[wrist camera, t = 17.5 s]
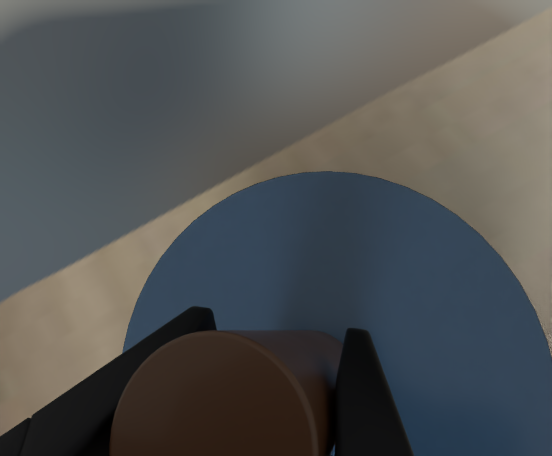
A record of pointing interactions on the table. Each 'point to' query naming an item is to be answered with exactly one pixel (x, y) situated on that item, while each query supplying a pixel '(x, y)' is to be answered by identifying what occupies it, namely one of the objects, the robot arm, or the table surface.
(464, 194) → the table surface
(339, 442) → the robot arm
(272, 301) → the tin lid
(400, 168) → the table surface
